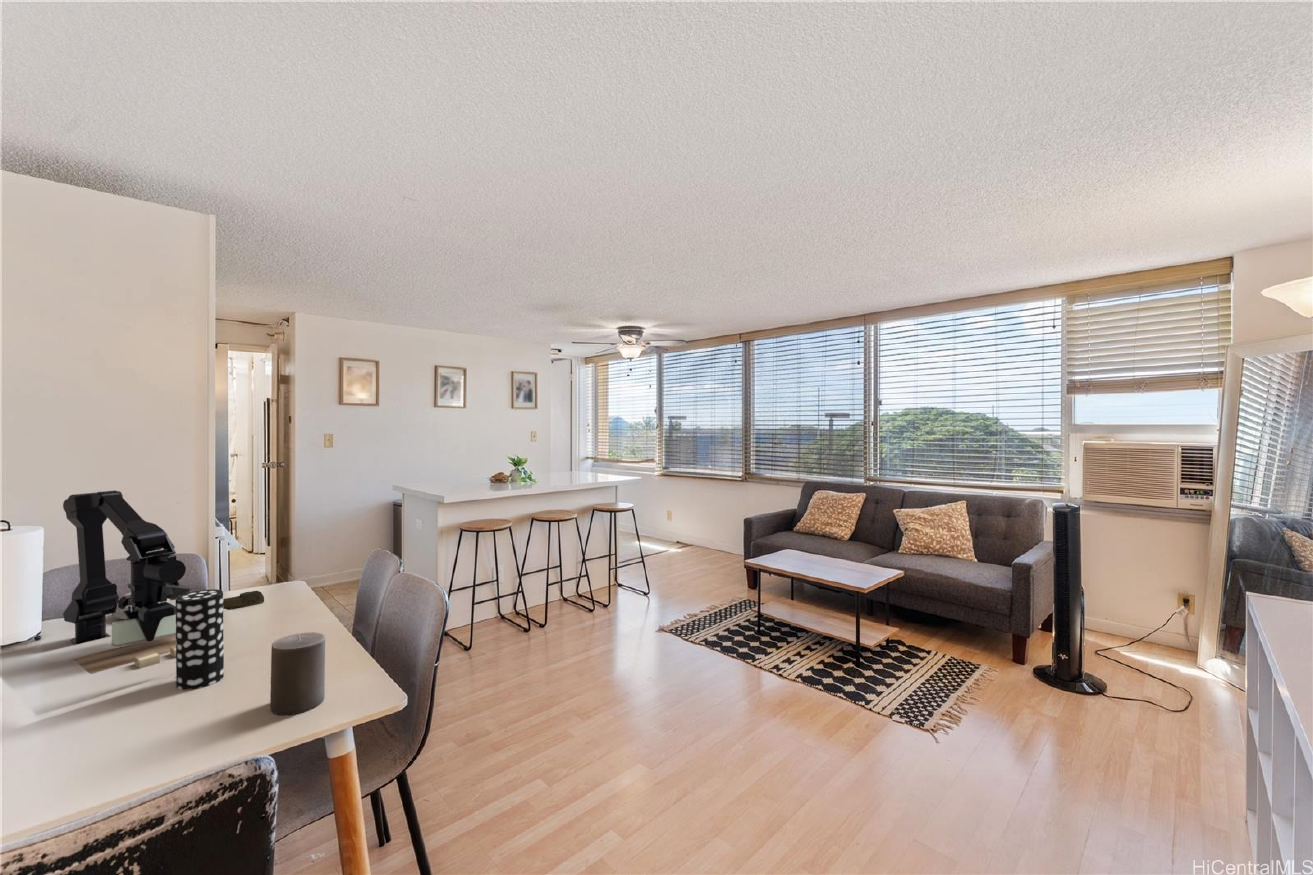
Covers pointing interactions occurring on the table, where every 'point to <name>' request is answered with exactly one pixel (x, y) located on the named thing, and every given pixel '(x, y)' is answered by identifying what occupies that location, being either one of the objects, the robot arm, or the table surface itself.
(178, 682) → the spotted tube
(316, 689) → the pillar candle
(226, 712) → the table surface
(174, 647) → the pine offcut right
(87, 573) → the robot arm
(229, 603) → the hand tool
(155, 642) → the walnut board
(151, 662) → the pine offcut left
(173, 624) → the sanding block
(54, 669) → the table surface
